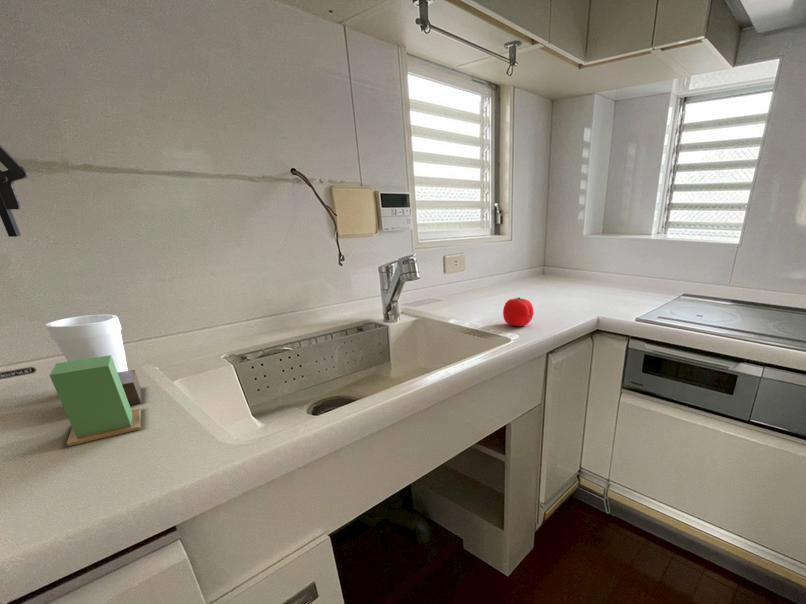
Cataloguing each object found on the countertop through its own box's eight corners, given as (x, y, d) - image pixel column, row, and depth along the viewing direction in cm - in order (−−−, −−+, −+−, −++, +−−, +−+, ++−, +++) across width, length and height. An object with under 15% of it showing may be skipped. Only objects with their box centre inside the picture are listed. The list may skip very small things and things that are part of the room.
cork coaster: (74, 425, 63) (73, 422, 63) (140, 411, 68) (139, 408, 68) (67, 446, 57) (66, 443, 57) (140, 429, 62) (139, 426, 62)
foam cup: (151, 379, 81) (129, 316, 76) (97, 398, 73) (69, 328, 68) (117, 374, 83) (94, 313, 78) (61, 392, 75) (32, 324, 70)
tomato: (506, 329, 118) (506, 301, 115) (499, 321, 127) (499, 294, 124) (536, 328, 120) (537, 300, 116) (527, 320, 129) (528, 294, 126)
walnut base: (83, 400, 72) (74, 379, 70) (141, 389, 76) (134, 369, 75) (77, 416, 66) (68, 394, 65) (141, 403, 71) (133, 382, 69)
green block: (82, 423, 63) (56, 363, 59) (132, 412, 66) (111, 355, 63) (77, 438, 59) (49, 375, 55) (131, 426, 62) (108, 365, 58)
